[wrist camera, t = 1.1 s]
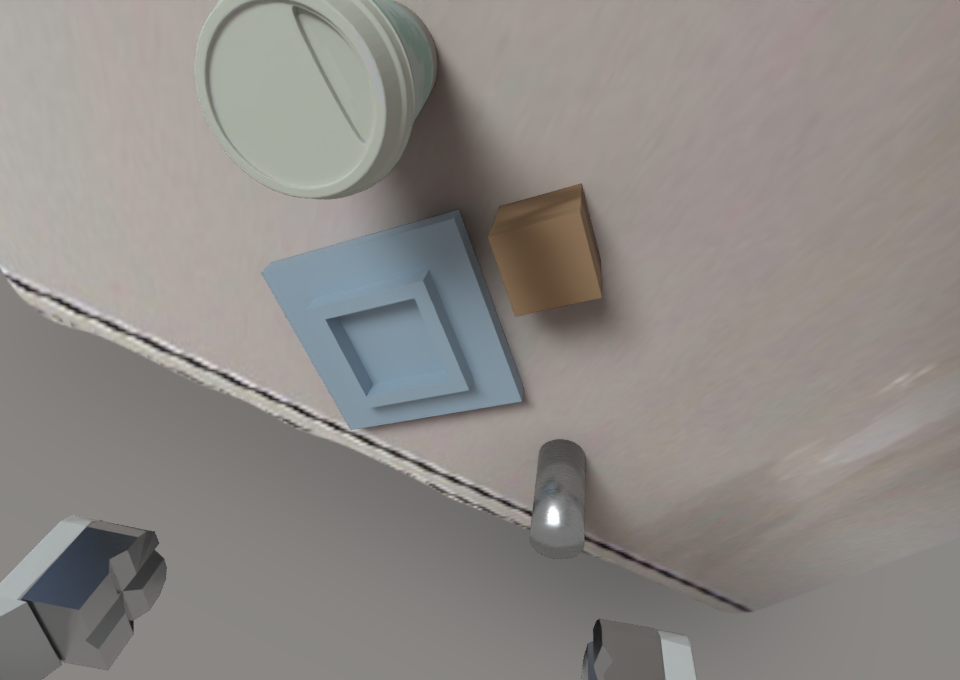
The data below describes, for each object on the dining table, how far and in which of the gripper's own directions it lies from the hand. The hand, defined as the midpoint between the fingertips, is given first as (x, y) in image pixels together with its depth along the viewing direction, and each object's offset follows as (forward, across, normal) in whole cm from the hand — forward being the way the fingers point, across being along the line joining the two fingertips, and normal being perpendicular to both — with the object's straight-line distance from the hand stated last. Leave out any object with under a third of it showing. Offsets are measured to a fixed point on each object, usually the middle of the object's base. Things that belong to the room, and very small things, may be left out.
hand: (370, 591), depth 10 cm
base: (+28, +6, +12) cm, 31 cm away
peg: (+28, -7, +21) cm, 35 cm away
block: (+27, -3, +3) cm, 28 cm away
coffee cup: (+28, +8, -5) cm, 29 cm away
